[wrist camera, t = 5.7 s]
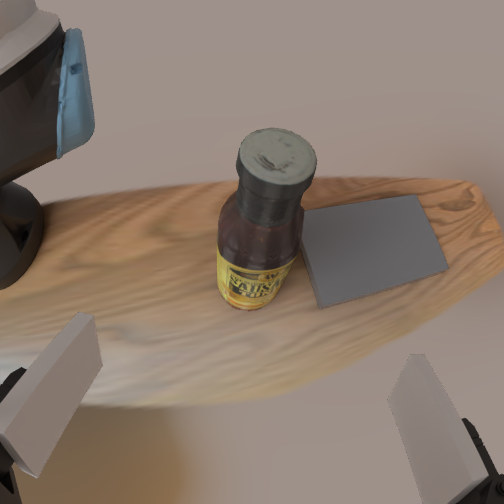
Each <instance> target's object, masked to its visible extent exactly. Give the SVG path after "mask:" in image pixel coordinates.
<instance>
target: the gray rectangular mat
mask: <svg viewBox="0 0 504 504" xmlns="http://www.w3.org/2000/svg"><path fill="white" fill-rule="evenodd" d="M300 249H301V252H302V255H303V258H304V261H305V264H306V267H307V271H308V274H309V277H310V280H311V283H312V287H313V290H314V293H315V296H316V300H317V303H318V306H319V309H323V308H327V307H331V306H334V305H338V304H342V303H345V302H349V301H352V300H356V299H360V298H363V297H367V296H370V295H373V294H377V293H380V292H383V291H387V290H390V289H393V288H397V287H400V286H403V285H406V284H409V283H413V282H416V281H419V280H422V279H425V278H428V277H431V276H434V275H437V274H440V273H443V272H444V271H446V270H447V269H449V267H448V264H447V262H446V259H445V257H444V254H443V252H442V250H441V247H440V245H439V243H438V240H437V238H436V236H435V234H434V231H433V229H432V227H431V225H430V223H429V221H428V218H427V216H426V214H425V212H424V210H423V208H422V206H421V204H420V202H419V200H418V198H417V196H416V194H414V195H407V196H400V197H393V198H386V199H379V200H372V201H365V202H358V203H352V204H345V205H339V206H332V207H326V208H320V209H314V210H307V211H304V222H303V231H302V240H301V248H300Z"/></svg>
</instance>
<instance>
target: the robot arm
mask: <svg viewBox="0 0 504 504" xmlns="http://www.w3.org/2000/svg"><path fill="white" fill-rule="evenodd" d="M94 128H95V121H94V111H93V104H92V96H91V89H90V82H89V75H88V68H87V62H86V54H85V47H84V41H83V37H82V32H81V30H80V29H78V28H75V29H71V28H70V29H68V30H66V32H64V31H63V29H62V26H61V23H60V19H59V17H58V15H56V14H53V13H50V12H46V11H42V10H39V9H38V7H37V6H36V3H35V0H0V290H1V289H4V288H6V287H8V286H10V285H11V284H13V283H14V282H15V281H16V280H18V279H19V278H20V277H21V276H22V274H23V273H24V272H25V271H26V269H27V268H28V267H29V265H30V264H31V262H32V260H33V258H34V257H35V255H36V252H37V250H38V248H39V245H40V242H41V238H42V234H43V228H44V216H43V211H42V208H41V205H40V203H39V202H38V201H37V199H36V198H35V197H34V196H33V194H32V193H31V192H30V191H28V190H27V189H26V188H24V187H22V186H20V185H18V184H16V183H14V182H12V181H13V180H15V179H17V178H19V177H20V176H22V175H24V174H26V173H28V172H30V171H32V170H34V169H36V168H38V167H40V166H42V165H44V164H46V163H48V162H50V161H52V160H54V159H60V158H61V157H62V156H63V154H65V153H67V152H69V151H71V150H73V149H75V148H77V147H79V146H81V145H83V144H85V143H86V142H87V141H88V140H89V139H90V138H91V136H92V135H93V132H94ZM102 366H103V364H102V359H101V354H100V349H99V344H98V338H97V332H96V326H95V319H94V315H90V314H86V313H82V312H78V313H77V314H76V315H75V316H74V317H73V319H72V320H71V321H70V322H69V323H68V324H67V325H66V326H65V327H64V328H63V329H62V331H61V332H60V333H59V334H58V335H57V336H56V337H55V338H54V339H53V341H52V342H51V343H50V344H49V345H48V346H47V347H46V349H45V350H44V351H43V352H42V353H41V354H40V356H39V357H38V358H37V359H36V360H35V361H34V363H33V364H32V365H31V366H30V367H29V368H28V370H27V369H24V368H22V367H21V368H19V369H17V370H16V371H14V372H12V373H11V374H10V375H9V376H8V377H7V378H6V379H5V381H4V382H3V384H1V385H0V504H22V502H21V498H20V495H19V491H18V487H17V483H16V479H15V475H14V471H13V469H12V467H11V466H12V464H13V462H15V463H16V464H17V465H18V467H19V468H20V469H21V470H22V471H24V472H26V473H28V474H30V475H31V476H33V477H35V478H37V479H38V477H39V475H40V473H41V471H42V469H43V467H44V465H45V464H46V462H47V460H48V458H49V456H50V454H51V452H52V451H53V449H54V447H55V445H56V443H57V442H58V440H59V438H60V436H61V435H62V433H63V431H64V429H65V427H66V426H67V424H68V422H69V421H70V419H71V417H72V415H73V414H74V412H75V410H76V409H77V407H78V405H79V404H80V402H81V400H82V399H83V397H84V395H85V394H86V392H87V390H88V389H89V387H90V385H91V384H92V382H93V380H94V379H95V377H96V376H97V374H98V372H99V371H100V369H101V368H102ZM387 400H388V403H389V406H390V408H391V411H392V414H393V416H394V419H395V422H396V425H397V427H398V430H399V433H400V436H401V438H402V442H403V444H404V447H405V450H406V453H407V456H408V459H409V462H410V465H411V468H412V471H413V474H414V477H415V481H416V484H417V487H418V490H419V494H420V497H421V500H422V503H423V504H504V475H503V474H500V475H499V474H498V472H497V470H496V468H495V466H494V464H493V462H492V460H491V458H490V456H489V454H488V452H487V450H486V448H485V446H483V442H482V440H481V438H479V434H478V432H477V431H476V429H475V427H474V426H473V425H472V424H471V423H470V422H469V421H468V420H467V419H466V418H463V419H461V418H460V416H459V414H458V412H457V410H456V408H455V407H454V405H453V403H452V401H451V399H450V398H449V396H448V394H447V392H446V390H445V389H444V387H443V385H442V384H441V382H440V380H439V378H438V377H437V375H436V373H435V372H434V370H433V368H432V367H431V365H430V363H429V362H428V360H427V358H426V357H425V355H423V354H410V355H409V357H408V359H407V362H406V364H405V366H404V368H403V370H402V372H401V374H400V376H399V378H398V380H397V382H396V384H395V386H394V388H393V389H392V391H391V393H390V396H389V397H388V399H387Z"/></svg>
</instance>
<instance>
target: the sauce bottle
mask: <svg viewBox="0 0 504 504" xmlns="http://www.w3.org/2000/svg"><path fill="white" fill-rule="evenodd" d="M316 165H317V158H316V155H315V151H314V149H313V148H312V146H311V145H310V144H309V143H308V142H307V141H306V140H305V139H303V138H302V137H301V136H299V135H297V134H295V133H293V132H292V131H288V130H285V129H279V128H268V129H262V130H257V131H254V132H253V133H251V134H249V135H248V136H247V137H246V138H245V139H244V141H243V142H242V143H241V146H240V148H239V153H238V158H237V162H236V169H237V173H238V175H239V178H240V179H239V186H238V190H237V191H236V192H234V193H233V194H232V195H231V196H230V197H229V198H228V200H227V201H226V203H225V204H224V205H223V207H222V210H221V213H220V217H219V222H218V233H217V281H218V287H219V290H220V293H221V295H222V297H223V299H224V300H225V301H226V302H227V303H228V304H229V305H231V306H232V307H233V308H235V309H239V310H244V311H252V310H258V309H260V308H261V307H263V306H265V305H267V304H268V303H270V302H271V301H272V300H273V298H274V297H275V295H276V294H277V292H278V290H279V288H280V287H281V285H282V283H283V281H284V279H285V277H286V276H287V274H288V272H289V270H290V268H291V266H292V264H293V262H294V261H295V259H296V257H297V255H298V253H299V251H300V248H301V240H302V231H303V222H304V209H303V208H302V207H301V205H300V201H301V198H302V195H303V193H304V192H305V191H306V190H307V189H308V188H309V186H310V185H311V183H312V179H313V177H314V174H315V170H316Z"/></svg>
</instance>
